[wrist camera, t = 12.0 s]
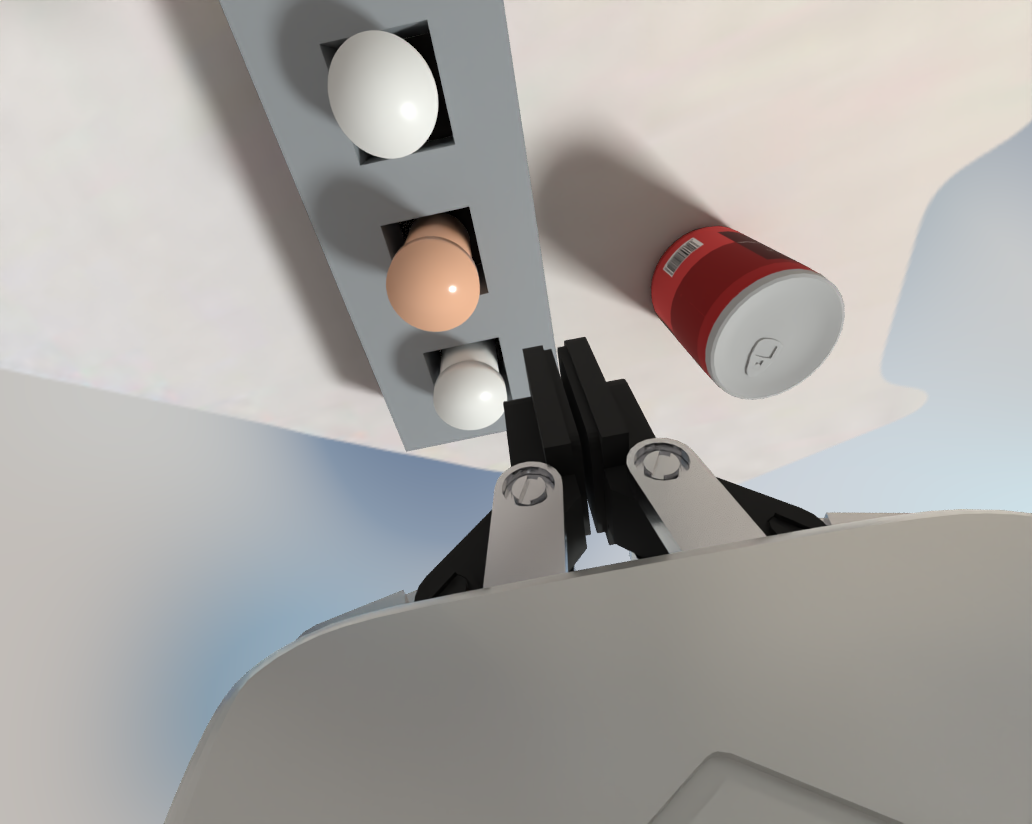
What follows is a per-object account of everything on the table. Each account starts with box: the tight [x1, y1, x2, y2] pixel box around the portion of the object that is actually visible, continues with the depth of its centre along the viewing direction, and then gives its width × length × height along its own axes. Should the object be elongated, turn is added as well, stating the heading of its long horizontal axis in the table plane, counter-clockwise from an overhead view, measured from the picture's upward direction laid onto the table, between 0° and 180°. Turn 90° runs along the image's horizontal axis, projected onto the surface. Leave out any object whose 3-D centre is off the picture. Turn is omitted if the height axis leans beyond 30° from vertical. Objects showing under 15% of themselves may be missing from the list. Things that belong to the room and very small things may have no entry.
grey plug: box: [433, 338, 507, 430], centre depth 33 cm, size 5×5×8 cm
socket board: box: [219, 0, 559, 452], centre depth 30 cm, size 26×12×6 cm, turn 10°
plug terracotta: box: [386, 212, 480, 332], centre depth 27 cm, size 5×5×8 cm
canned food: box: [651, 226, 845, 400], centre depth 31 cm, size 8×8×11 cm
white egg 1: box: [328, 30, 438, 159], centre depth 24 cm, size 5×5×8 cm
